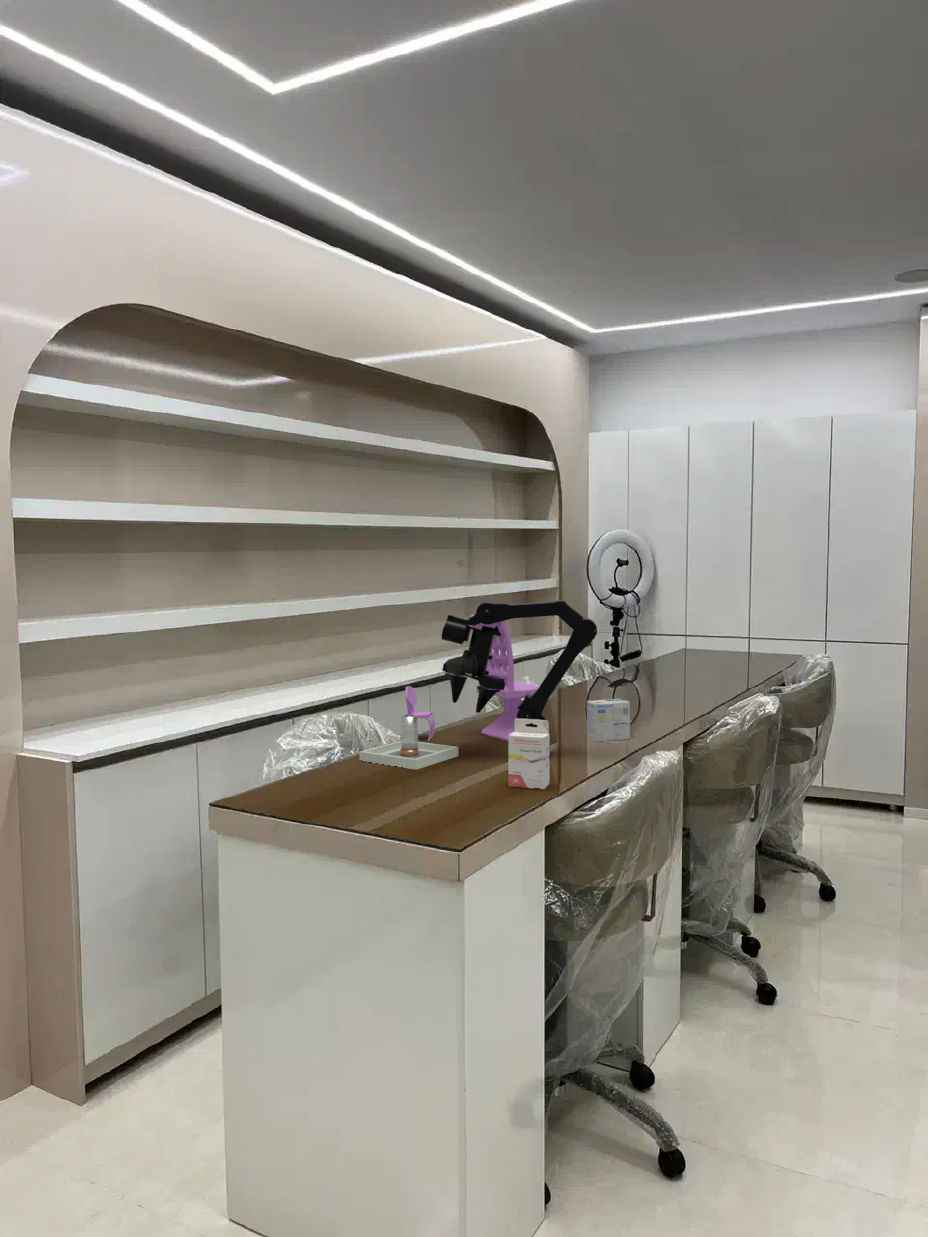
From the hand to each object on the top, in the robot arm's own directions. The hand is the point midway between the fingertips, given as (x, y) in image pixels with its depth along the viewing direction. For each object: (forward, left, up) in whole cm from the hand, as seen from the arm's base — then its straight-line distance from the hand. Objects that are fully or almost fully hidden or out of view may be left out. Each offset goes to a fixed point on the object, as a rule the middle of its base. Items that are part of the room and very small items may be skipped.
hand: (465, 707), depth 235 cm
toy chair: (+24, -11, -13) cm, 29 cm away
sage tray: (+10, +11, -12) cm, 20 cm away
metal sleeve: (+10, +11, -11) cm, 19 cm away
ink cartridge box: (-30, +19, -13) cm, 38 cm away
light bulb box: (-22, -39, -13) cm, 46 cm away
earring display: (+4, -28, -13) cm, 31 cm away
